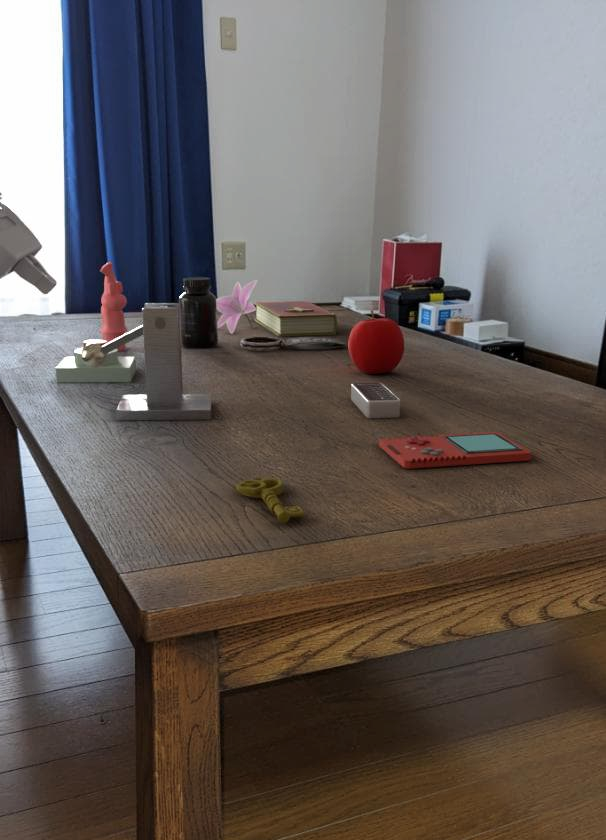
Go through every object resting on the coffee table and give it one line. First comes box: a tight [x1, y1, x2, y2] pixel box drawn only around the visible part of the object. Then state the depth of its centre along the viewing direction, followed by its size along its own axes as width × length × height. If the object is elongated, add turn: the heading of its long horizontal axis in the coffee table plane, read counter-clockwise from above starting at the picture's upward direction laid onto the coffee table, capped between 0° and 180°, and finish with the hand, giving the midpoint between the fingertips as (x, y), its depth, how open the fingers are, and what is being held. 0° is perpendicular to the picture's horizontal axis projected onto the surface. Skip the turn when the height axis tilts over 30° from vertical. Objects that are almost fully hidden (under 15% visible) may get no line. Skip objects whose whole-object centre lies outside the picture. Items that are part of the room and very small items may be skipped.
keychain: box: [239, 336, 347, 352], centre depth 164 cm, size 8×19×2 cm, turn 99°
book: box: [253, 300, 338, 338], centre depth 186 cm, size 12×21×4 cm, turn 16°
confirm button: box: [82, 339, 107, 347], centre depth 138 cm, size 4×4×2 cm
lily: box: [216, 279, 259, 335], centre depth 182 cm, size 12×12×10 cm
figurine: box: [99, 261, 129, 352], centre depth 158 cm, size 5×5×15 cm
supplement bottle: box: [178, 276, 219, 349], centre depth 164 cm, size 7×7×12 cm
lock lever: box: [81, 306, 168, 368], centre depth 116 cm, size 13×3×3 cm, turn 95°
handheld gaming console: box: [379, 431, 532, 469], centre depth 103 cm, size 9×1×15 cm
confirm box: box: [55, 347, 137, 383], centre depth 139 cm, size 11×9×4 cm
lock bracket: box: [115, 302, 213, 421], centre depth 117 cm, size 12×9×14 cm
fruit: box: [347, 309, 405, 375], centre depth 143 cm, size 9×9×10 cm
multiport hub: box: [350, 382, 401, 419], centre depth 122 cm, size 4×11×2 cm, turn 9°
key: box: [235, 477, 305, 524], centre depth 86 cm, size 12×1×5 cm
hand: (51, 289), depth 114 cm, fingers closed
